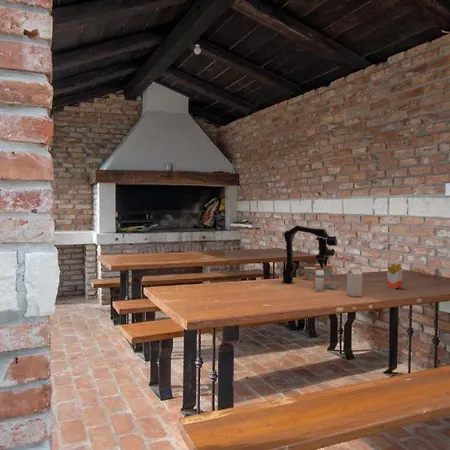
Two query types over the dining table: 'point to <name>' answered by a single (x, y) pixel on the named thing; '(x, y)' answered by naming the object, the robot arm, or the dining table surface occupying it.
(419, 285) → the dining table surface
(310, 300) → the dining table surface
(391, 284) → the french fries container
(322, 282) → the banded post
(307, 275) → the stack of blocks
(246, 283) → the dining table surface
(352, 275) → the milk carton
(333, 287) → the slate tile
